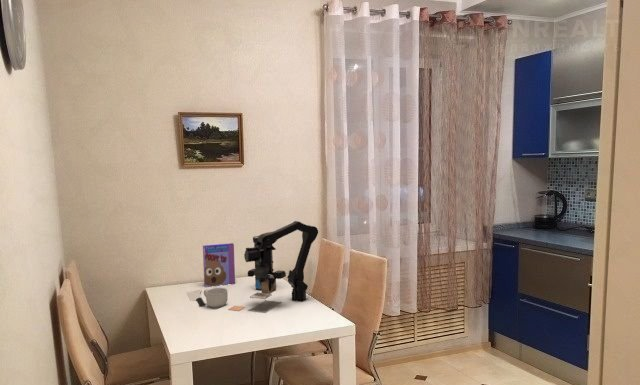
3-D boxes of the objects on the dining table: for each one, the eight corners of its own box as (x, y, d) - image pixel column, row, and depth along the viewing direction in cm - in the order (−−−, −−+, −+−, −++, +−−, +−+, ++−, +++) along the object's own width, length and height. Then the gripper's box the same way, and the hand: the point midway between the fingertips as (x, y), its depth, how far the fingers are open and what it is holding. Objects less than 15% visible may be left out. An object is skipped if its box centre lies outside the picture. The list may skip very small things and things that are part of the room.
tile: (245, 306, 218) (238, 310, 212) (245, 309, 218) (238, 313, 212) (234, 305, 220) (227, 309, 215) (234, 308, 220) (228, 312, 215)
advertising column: (278, 288, 253) (277, 236, 251) (263, 293, 244) (261, 239, 243) (265, 285, 260) (263, 234, 259) (250, 289, 252) (248, 237, 250)
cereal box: (205, 287, 260) (203, 246, 258) (204, 285, 264) (202, 245, 263) (235, 284, 266) (233, 244, 265) (233, 282, 270) (232, 242, 269)
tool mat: (282, 303, 225) (282, 302, 225) (265, 314, 209) (265, 313, 209) (265, 301, 229) (265, 300, 229) (246, 312, 213) (246, 310, 213)
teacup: (232, 305, 224) (231, 289, 223) (213, 310, 216) (213, 294, 215) (216, 300, 233) (216, 285, 233) (198, 305, 225) (197, 289, 225)
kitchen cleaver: (182, 291, 249) (200, 287, 252) (183, 294, 249) (201, 290, 253) (187, 307, 220) (207, 303, 223) (188, 311, 220) (208, 306, 223)
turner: (266, 289, 228) (266, 277, 228) (280, 290, 225) (280, 278, 225) (249, 297, 213) (249, 285, 213) (264, 299, 210) (264, 286, 210)
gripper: (241, 261, 216) (242, 293, 217) (275, 264, 209) (276, 296, 209) (252, 257, 226) (254, 287, 227) (285, 259, 219) (286, 290, 220)
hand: (267, 290), depth 220 cm, fingers closed on turner, 3 cm apart
